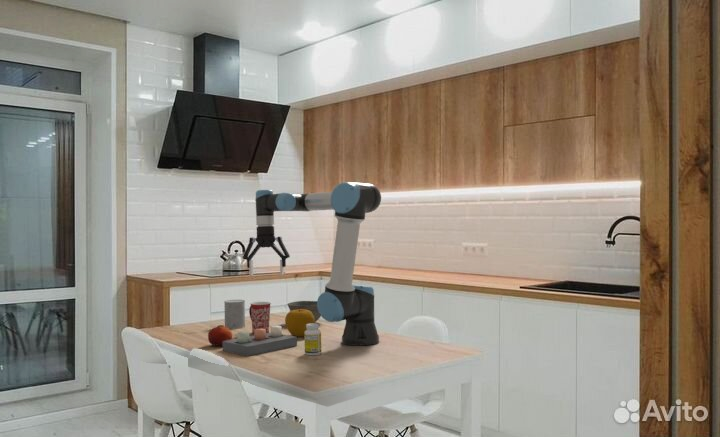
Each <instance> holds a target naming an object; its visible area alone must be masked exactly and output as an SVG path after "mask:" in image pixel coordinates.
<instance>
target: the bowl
mask: <svg viewBox="0 0 720 437" xmlns="http://www.w3.org/2000/svg"><path fill="white" fill-rule="evenodd" d="M286 305H287V307H288V309H289V312H290V311H292V310H297V309H306V310H309V311H311V312H312V314H313V316H314V318H315V323H316V322H318V320H319V319H320V318H322V316H321V314H320V313H319V311H318V308H317V300H316V301H315V300H298V301H292V302H288V303H287V304H286Z"/></svg>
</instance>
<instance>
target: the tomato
mask: <svg viewBox="0 0 720 437" xmlns="http://www.w3.org/2000/svg"><path fill="white" fill-rule="evenodd" d="M207 334H208V335H207V339H208V342H209V344H210V345H212V346H220V347H223V341H227V340H232V339H233V333H232V331H231V329H228V328H227V327H225V324H219V325H217V326H216V327H213V328H212V329H210V331H209V332H208V333H207Z"/></svg>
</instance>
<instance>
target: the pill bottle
mask: <svg viewBox="0 0 720 437" xmlns="http://www.w3.org/2000/svg"><path fill="white" fill-rule="evenodd" d="M319 325H320V324H319V323H318V322H317V323H316V322H315V323H311V324H306V328H307V330H306V331H305V333H304V337H303V338H304V354H305V355H307V356H318V355H321V354H322V332H321V330H320V328H319V327H320V326H319Z"/></svg>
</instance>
